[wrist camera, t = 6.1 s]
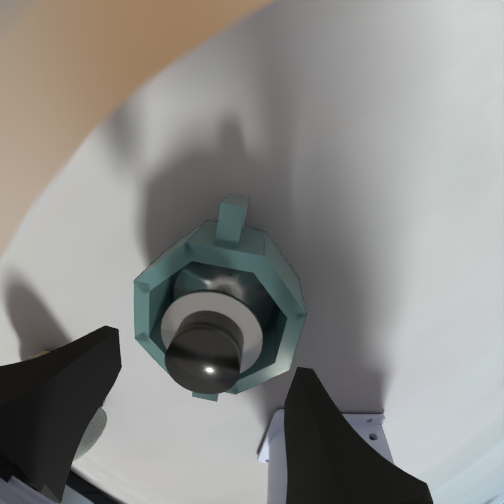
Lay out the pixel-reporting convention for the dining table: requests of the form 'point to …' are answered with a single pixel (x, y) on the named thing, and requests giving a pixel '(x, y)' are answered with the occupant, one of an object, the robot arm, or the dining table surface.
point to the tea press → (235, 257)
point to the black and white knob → (214, 326)
